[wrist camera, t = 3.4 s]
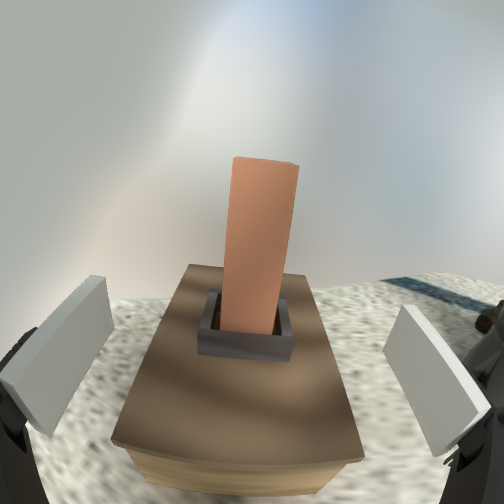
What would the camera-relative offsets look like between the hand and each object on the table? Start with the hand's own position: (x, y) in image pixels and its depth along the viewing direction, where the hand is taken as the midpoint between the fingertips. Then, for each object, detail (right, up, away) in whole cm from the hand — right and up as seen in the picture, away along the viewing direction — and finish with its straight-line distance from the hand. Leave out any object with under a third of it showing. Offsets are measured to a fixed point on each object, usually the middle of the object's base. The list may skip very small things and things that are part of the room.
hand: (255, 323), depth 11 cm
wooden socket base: (-2, -12, +15) cm, 19 cm away
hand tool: (+54, -13, +31) cm, 64 cm away
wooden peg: (-1, -4, +12) cm, 12 cm away
